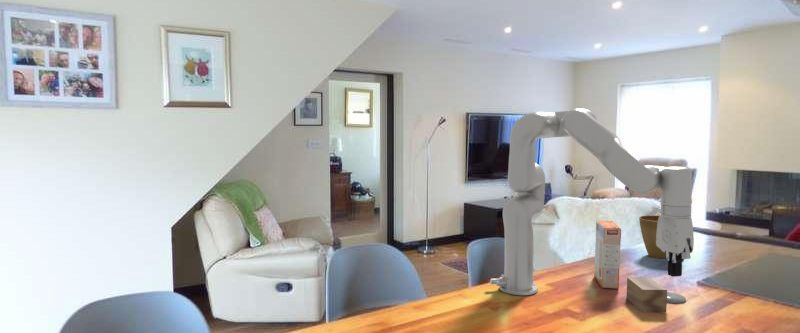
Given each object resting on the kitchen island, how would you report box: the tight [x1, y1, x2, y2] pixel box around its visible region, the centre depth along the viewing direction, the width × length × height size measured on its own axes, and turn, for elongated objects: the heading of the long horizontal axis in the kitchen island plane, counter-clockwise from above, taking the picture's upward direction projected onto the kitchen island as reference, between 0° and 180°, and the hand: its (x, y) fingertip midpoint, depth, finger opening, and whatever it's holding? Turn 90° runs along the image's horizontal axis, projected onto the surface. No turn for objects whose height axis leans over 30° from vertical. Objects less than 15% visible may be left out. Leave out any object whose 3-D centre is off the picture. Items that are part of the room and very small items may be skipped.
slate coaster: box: [667, 291, 687, 304], centre depth 162 cm, size 9×9×1 cm
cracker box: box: [593, 219, 622, 290], centre depth 177 cm, size 14×6×21 cm, turn 168°
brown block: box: [626, 276, 668, 314], centre depth 156 cm, size 7×12×7 cm, turn 176°
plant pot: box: [638, 214, 666, 259], centre depth 212 cm, size 15×15×16 cm
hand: (674, 275), depth 144 cm, fingers closed
